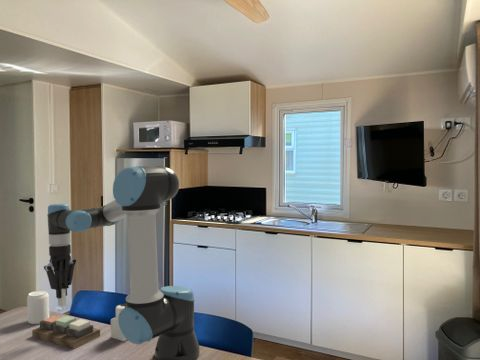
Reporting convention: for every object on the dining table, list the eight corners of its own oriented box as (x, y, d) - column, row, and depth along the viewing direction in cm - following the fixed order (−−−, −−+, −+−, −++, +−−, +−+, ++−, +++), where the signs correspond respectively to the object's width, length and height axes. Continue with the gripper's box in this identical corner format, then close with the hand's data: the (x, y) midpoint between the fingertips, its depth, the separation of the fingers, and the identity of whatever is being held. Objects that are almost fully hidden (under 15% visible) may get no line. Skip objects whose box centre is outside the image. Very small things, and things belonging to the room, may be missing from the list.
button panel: (100, 335, 153) (99, 323, 153) (74, 348, 142) (73, 335, 142) (59, 325, 164) (59, 313, 164) (32, 336, 153) (32, 323, 153)
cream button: (89, 327, 151) (89, 321, 150) (79, 332, 146) (78, 326, 146) (80, 325, 153) (80, 319, 153) (69, 330, 148) (69, 323, 148)
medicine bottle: (124, 330, 158) (124, 300, 157) (138, 334, 154) (137, 303, 153) (110, 337, 152) (109, 306, 151) (124, 341, 148) (123, 309, 147)
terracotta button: (62, 324, 158) (62, 317, 157) (51, 328, 153) (51, 322, 153) (54, 321, 160) (54, 315, 160) (42, 326, 155) (42, 320, 155)
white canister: (40, 325, 163) (39, 296, 163) (23, 324, 165) (22, 295, 165) (53, 318, 171) (52, 290, 171) (37, 317, 173) (36, 289, 172)
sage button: (76, 324, 154) (75, 317, 154) (64, 329, 150) (64, 322, 149) (67, 322, 156) (66, 315, 156) (55, 326, 152) (55, 320, 152)
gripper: (67, 240, 160) (69, 299, 161) (37, 246, 149) (40, 309, 149) (80, 242, 157) (82, 301, 157) (51, 248, 145) (53, 312, 146)
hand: (62, 305), depth 153 cm, fingers closed
